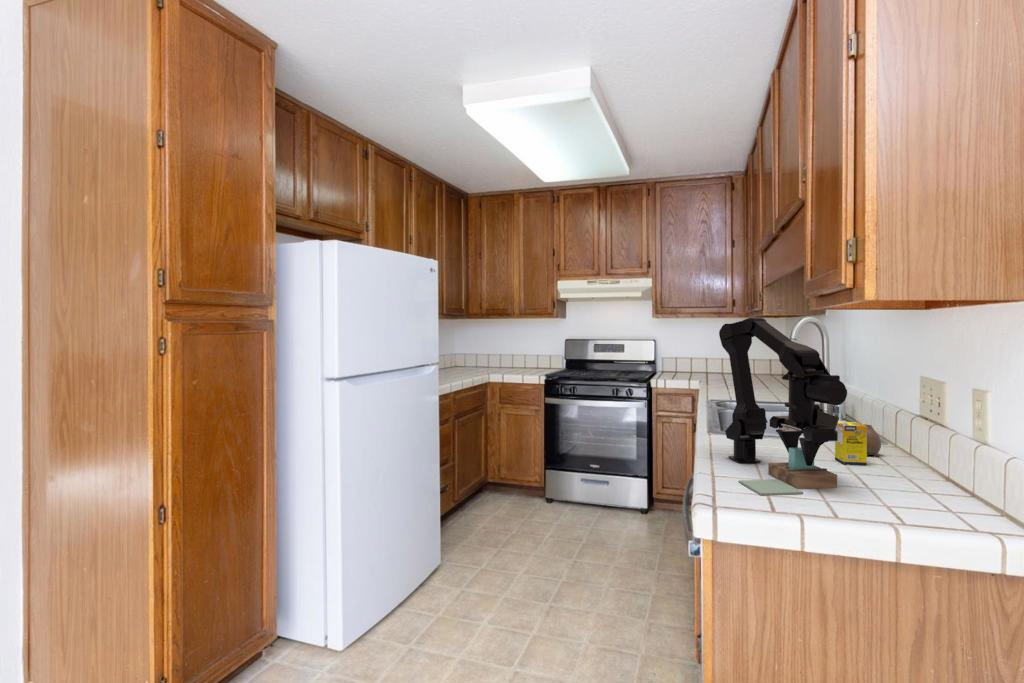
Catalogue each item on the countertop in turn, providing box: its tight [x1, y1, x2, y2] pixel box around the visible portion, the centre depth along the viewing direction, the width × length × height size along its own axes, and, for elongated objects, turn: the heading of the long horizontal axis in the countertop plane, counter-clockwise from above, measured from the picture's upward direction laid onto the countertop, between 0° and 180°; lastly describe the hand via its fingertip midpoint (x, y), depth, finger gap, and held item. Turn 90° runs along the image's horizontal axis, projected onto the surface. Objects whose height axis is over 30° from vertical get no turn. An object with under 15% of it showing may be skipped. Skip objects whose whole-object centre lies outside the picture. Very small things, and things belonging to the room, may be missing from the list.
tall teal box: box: [788, 446, 815, 469], centre depth 129 cm, size 2×5×8 cm, turn 94°
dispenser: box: [767, 461, 838, 490], centre depth 129 cm, size 12×10×3 cm
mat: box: [738, 478, 804, 496], centre depth 124 cm, size 10×10×1 cm
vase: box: [862, 423, 882, 456], centre depth 155 cm, size 7×7×9 cm
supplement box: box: [834, 421, 868, 466], centre depth 146 cm, size 6×6×11 cm
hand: (801, 462), depth 129 cm, fingers open, 6 cm apart
